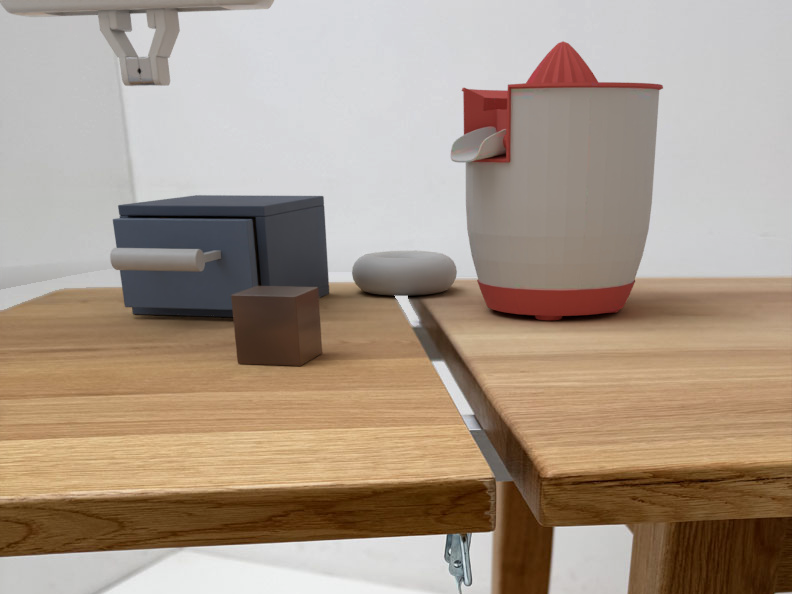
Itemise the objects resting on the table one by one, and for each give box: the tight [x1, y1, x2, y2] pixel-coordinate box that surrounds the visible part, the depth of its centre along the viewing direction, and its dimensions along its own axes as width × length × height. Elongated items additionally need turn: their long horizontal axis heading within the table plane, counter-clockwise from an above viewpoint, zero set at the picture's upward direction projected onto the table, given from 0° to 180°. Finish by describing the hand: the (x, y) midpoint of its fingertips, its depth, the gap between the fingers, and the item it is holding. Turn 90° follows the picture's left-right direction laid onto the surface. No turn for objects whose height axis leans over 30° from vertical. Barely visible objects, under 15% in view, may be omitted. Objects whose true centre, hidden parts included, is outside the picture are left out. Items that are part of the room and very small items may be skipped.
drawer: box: [109, 216, 261, 310], centre depth 85 cm, size 18×11×7 cm, turn 168°
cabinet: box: [117, 194, 330, 318], centre depth 90 cm, size 15×13×9 cm
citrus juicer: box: [450, 40, 664, 321], centre depth 82 cm, size 16×17×20 cm
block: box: [231, 286, 323, 367], centre depth 68 cm, size 4×4×4 cm
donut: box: [351, 250, 458, 297], centre depth 97 cm, size 10×4×10 cm
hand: (147, 85), depth 74 cm, fingers closed
